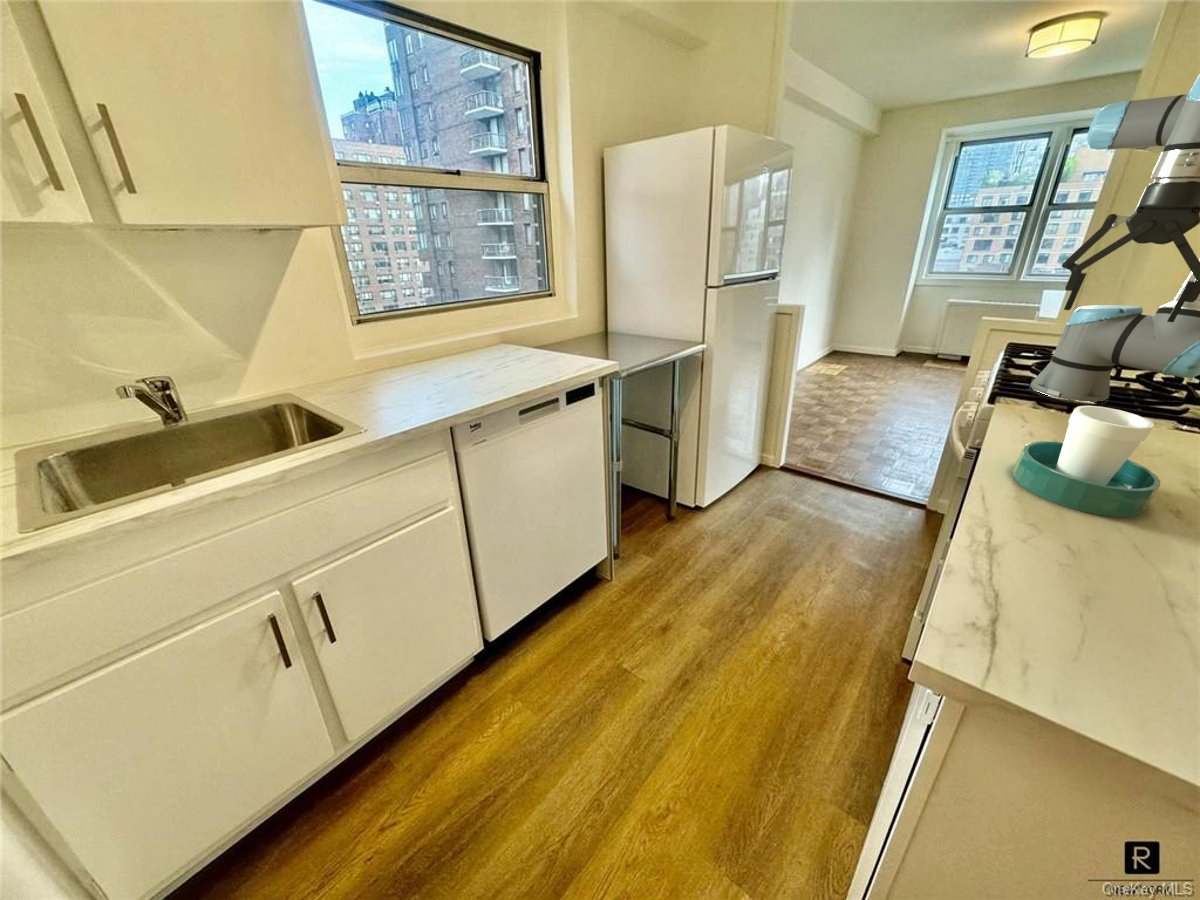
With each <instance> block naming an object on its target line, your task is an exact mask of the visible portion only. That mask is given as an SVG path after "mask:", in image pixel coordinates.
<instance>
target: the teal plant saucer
mask: <svg viewBox="0 0 1200 900" xmlns="http://www.w3.org/2000/svg"><path fill="white" fill-rule="evenodd" d="M1063 443H1064V442H1062V441H1061V442H1059V441H1045V440H1044V441H1033V442H1032V441H1031V442H1029V443H1027V444H1025V445H1024V446H1023V447H1022V450H1021V452H1020V454H1019V456H1018V459H1017V460H1016V462H1015V465H1014V467H1013V470H1012V476H1013V479H1014V480H1015V481H1016V482H1017V483H1018V485H1020V486H1022V488H1024V489H1026V490H1027V491H1029V492H1031V493H1032V494H1034V495H1037V496H1038V497H1040V498H1042V499H1045V500H1047V501H1049V502H1052V503H1054V504H1057V505H1060V506H1063V507H1065V508H1068V509H1071V510H1072V509H1073V510H1076V511H1080V512H1083V513H1088V514H1092V515H1098V516H1103V517H1104V516H1105V517H1112V518H1113V517H1114V518H1130V517H1131V518H1132V517H1135V516H1139V515H1141V514H1142V513H1144V511H1145V510H1146V509H1147V508H1148V506H1149V505H1150V503H1151V501H1152V500H1153V498H1154V496H1155V495H1156V494H1157V492H1158V490H1159V489H1160V487H1161V483H1162V481H1161V480H1160V478H1159V477H1158V475H1156V474H1155V473H1154V472H1152V470H1150V469H1148V468H1147V467H1144V466H1143V465H1141V464H1138V463H1136V461H1132V460H1130V459H1129V458H1128V459H1127V460H1126V461H1125V462H1124V464H1123V465H1122V466H1121V467H1120V469H1119V470H1118V471H1117V472H1116V473H1115V475H1114V476H1113V477H1112V478H1111V480H1110V481H1109V482H1108V483H1107V485H1106V486H1105V485H1100V484H1096V483H1091V482H1087V481H1084V480H1080V479H1077V478H1073V477H1070V476H1068V475H1065V474H1062V473H1060V472H1057V471H1055V469H1056V466H1057V463H1058V459H1059V456H1060V453H1061V449H1062V446H1063Z"/></svg>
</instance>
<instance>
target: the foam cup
mask: <svg viewBox="0 0 1200 900" xmlns="http://www.w3.org/2000/svg"><path fill="white" fill-rule="evenodd" d="M1067 422H1068V427H1067V429H1066V433H1065V437H1064V440H1063V442H1062V443H1063V446H1062V449H1061V453H1060V456H1059V459H1058V463H1057V466H1056V469H1055V471H1057V472H1060V473H1062V474H1065V475H1068V476H1070V477H1073V478H1077V479H1080V480H1084V481H1087V482H1091V483H1096V484H1100V485H1105V486H1106V485H1107V483H1108V482H1109V481H1110V480H1111V478H1112V477H1113V476H1114V475H1115V473H1116V472H1117V471H1118V470H1119V469H1120V467H1121V466H1122V465H1123V464H1124V462H1125V461H1126V460H1127V459H1128V460H1129V457H1130V456H1131V455H1132V454H1133V453H1134V452H1135V450H1136V449H1137V448H1138V447H1139V445H1140V444H1141V443H1142V442H1144V441H1145V440H1146V439H1147V438H1148V436H1149V434H1150V433H1151V431H1152V430H1153V428H1154V426H1155V423H1153V422H1152V421H1151V420H1150V419H1148V418H1146V417H1144V416H1141V415H1138V414H1135V413H1132V412H1128V411H1126V410H1125V411H1124V410H1121V409H1116V408H1111V407H1105V406H1076V407H1074V409H1073V411H1072V413H1071V415H1070V417H1069V419H1068V421H1067Z"/></svg>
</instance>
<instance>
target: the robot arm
mask: <svg viewBox="0 0 1200 900" xmlns="http://www.w3.org/2000/svg"><path fill="white" fill-rule="evenodd" d="M1086 136H1087V137H1086V144H1087V147H1088V149H1089V150H1091V151H1110V150H1129V151H1139V152H1146V153H1154V154H1160V156H1159V158H1158V160H1157V162H1156V165H1155V167H1154V168H1153V171H1152V173H1151V176H1150V180H1152V183H1149V184H1148V185H1146V187H1145V189H1144V191H1143V193H1142V195H1141V197H1140V199H1139V201H1138V204H1137V206H1136V208H1135V210H1134V211H1133V213H1132V214H1130V215H1129V216H1128V215H1120V214H1117V213H1110V214H1108V215H1107V217H1106V218H1105V220H1104V222H1103V224H1102V225H1101V227H1100V228H1099V229H1098V230H1097V231H1095V233H1093V234H1092V236H1090V237H1089V238H1088V239H1087V240H1086V241H1085V242H1084V243H1083V244H1081V246H1079V248H1077V250H1075V251H1074V252H1073V253H1072V254H1071V255H1070V256H1069V257H1068V258H1067V259H1066V260H1065V261H1063V262H1062V264H1061V267H1062V268H1063V269H1065V270H1068V271H1070V275H1069V277H1068V281H1067V282H1066V285H1065V291H1069V292H1071V293H1070V294H1069V296H1068V299H1067V301H1066V304H1065V306H1064V308H1063V310H1064V311H1070V310H1072V309H1073V305H1074V304H1075V301H1076V300H1077V297H1078V294H1079V292H1080V290H1081V287H1082V285H1083V283H1084V281H1085V279H1086V276H1087V272H1083V271H1084V270H1085V269H1087V268H1088V267H1090V266H1092V265H1094V264H1095V263H1096V262H1099V261H1100V260H1102V259H1103V258H1105V257H1107V256H1108V255H1110V254H1112V253H1113V252H1115V251H1116V250H1118V249H1120V248H1121V247H1123V246H1124V245H1126V244H1128V243H1130V242H1131V241H1133V242H1134V243H1137V244H1144V245H1145V244H1150V243H1152V244H1155V245H1166V244H1170V243H1172V242H1173V244H1174V245H1175V247H1176V248H1177V250H1178V252H1179V253H1180V255H1181V257H1182V258H1183V260H1184V262H1185V264H1186V265H1187V267H1188V268H1189V271H1190V273H1189V275H1188V277H1187V279H1186V280H1185V281H1184V283H1183V284H1182V287H1181V288H1180V289H1179V291H1178V293H1177V294H1176V296H1175V297H1174V299H1173V300H1172V301H1170V302H1168V303H1165V304H1163V305H1160V306H1159V307H1158V308H1157V310H1156V311H1155V313H1154V314H1153V315H1149V314H1143V313H1144V308H1143V307H1142V306H1138V305H1137V306H1135V305H1123V304H1122V305H1121V304H1108V305H1107V304H1098V305H1097V304H1095V305H1083V306H1080V307H1077V308H1076V309H1075V310H1073V312H1072V313H1071V315H1070V318H1069V319H1068V321H1067V322H1066V323H1065V327H1064V329H1063V332H1062V333H1061V336H1060V338H1059V341H1058V343H1057V346H1056V348H1055V350H1054V352H1053V355H1052V357H1051V359H1050V361H1049V363H1048V364H1047V365H1046V366H1045V367H1044V368H1043V370H1041V372H1040V373H1039V374H1038V375H1037V376H1036V377H1035V378H1034V379H1033V380H1032V382H1031V383H1030V385H1029V387H1028V391H1029V392H1030V393H1031V394H1033V395H1034V396H1037V397H1039V398H1042V399H1045V400H1048V401H1052V402H1056V403H1058V404H1059V403H1060V404H1065V405H1070V406H1076V407H1078V406H1098V407H1104V406H1105V405H1106V404H1107V402H1105V403H1101V404H1086V403H1077V402H1070V401H1065V400H1060V399H1056V398H1052V397H1058V398H1063V399H1070V400H1079V401H1090V402H1097V401H1103V400H1106V399H1108V398H1110V392H1111V391H1110V390H1111V389H1110V388H1111V374H1112V371H1113V370H1114V367H1115V366H1116V365H1120V366H1124V367H1129V368H1133V369H1137V370H1143V371H1148V372H1153V373H1157V374H1162V375H1164V376H1172V377H1173V376H1174V377H1180V378H1185V379H1188V378H1189V379H1191V378H1194V377H1197V376H1200V258H1198V256H1197V254H1196V253H1195V251H1194V249H1193V247H1192V246H1191V244H1190V243H1189V241H1188V239H1187V237H1186V236H1185V234H1186V233H1188V232H1189V231H1191V230H1192V229H1195V227H1197V226H1198V225H1200V73H1199V74H1198V75H1197V77H1196V79H1195V81H1194V82H1193V85H1192V86H1191V89H1190V90H1189V92H1188V93H1185V94H1178V95H1170V96H1161V97H1152V98H1143V99H1134V100H1130V99H1127V100H1125V101H1121V102H1120V101H1119V102H1115V103H1109V104H1107V105H1105V106H1104V107H1103V108H1101V109H1100V110H1099V111H1098V112H1097V114H1096V115H1095V116H1094V118H1093V120H1092V122H1091V124H1090V126H1089V129H1088V132H1087V135H1086ZM1121 224H1125V226H1126V227H1127V229H1128V233H1127V234H1125V235H1124V236H1122V237H1120V238H1119V239H1118V240H1116V241H1114V242H1112V243H1111V244H1109V245H1108V246H1106V247H1104V248H1103V249H1101V250H1099V251H1098V252H1096V253H1095V254H1093V255H1092V256H1090V257H1089V258H1087V259H1086V260H1084V261H1082V262H1081V263H1076V262H1077V261H1079V259H1080V258H1081V257H1083V256H1084V255H1085V254H1086V253H1087V252H1088V251H1090V250H1091V249H1092V247H1093V246H1094V245H1096V244H1097V243H1098V242H1099V241H1100V240H1101V239H1102V238H1104V237H1105V236H1106V234H1108V233H1109V232H1110V230H1112V229H1117V228H1118V227H1119V226H1120V225H1121ZM1030 387H1031V388H1032V389H1033V390H1035V391H1037V392H1040V393H1042V394H1045V395H1048V396H1052V397H1048V396H1045V395H1042V394H1040V393H1037V392H1035V391H1033V390H1032V389H1031V388H1030ZM1108 400H1109V399H1108Z"/></svg>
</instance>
